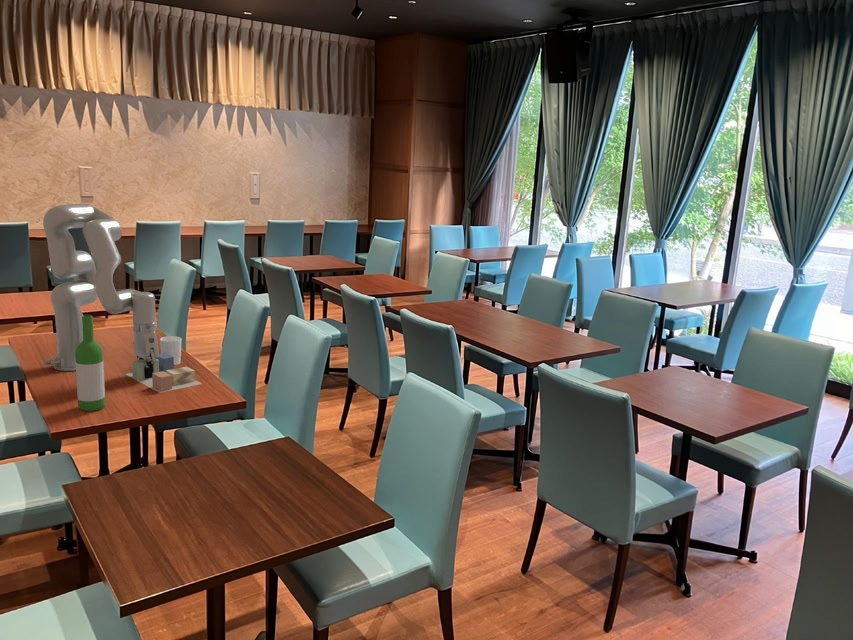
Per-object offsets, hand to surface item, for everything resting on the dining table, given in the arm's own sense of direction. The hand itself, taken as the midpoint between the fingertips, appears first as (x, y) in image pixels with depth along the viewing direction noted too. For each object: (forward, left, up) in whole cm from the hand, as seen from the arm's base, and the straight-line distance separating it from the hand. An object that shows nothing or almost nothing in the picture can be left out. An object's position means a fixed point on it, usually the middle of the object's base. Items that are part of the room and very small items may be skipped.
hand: (146, 375), depth 249 cm
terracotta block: (-2, -15, 0) cm, 15 cm away
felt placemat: (+3, -6, -1) cm, 7 cm away
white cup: (+15, +10, -1) cm, 18 cm away
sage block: (0, 0, 0) cm, 0 cm away
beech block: (+7, -12, 0) cm, 14 cm away
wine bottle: (-27, -19, -1) cm, 33 cm away
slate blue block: (+8, +2, 0) cm, 8 cm away
